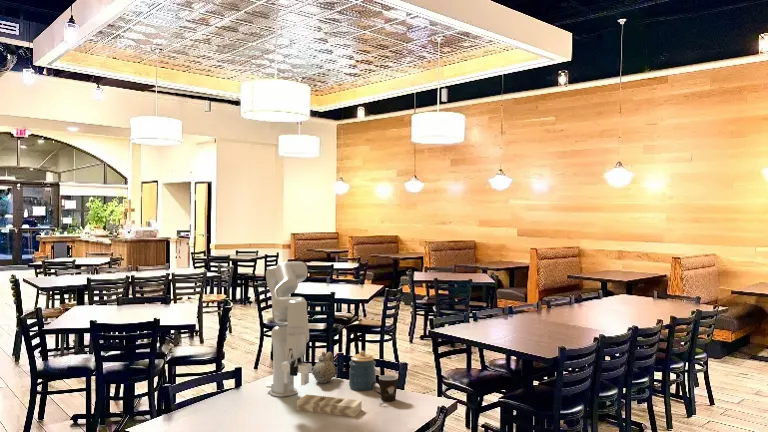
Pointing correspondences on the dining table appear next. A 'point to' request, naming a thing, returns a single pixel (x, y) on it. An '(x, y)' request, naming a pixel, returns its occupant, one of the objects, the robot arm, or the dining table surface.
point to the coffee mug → (387, 387)
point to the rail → (329, 405)
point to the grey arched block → (302, 368)
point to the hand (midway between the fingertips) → (296, 373)
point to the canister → (362, 372)
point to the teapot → (324, 368)
